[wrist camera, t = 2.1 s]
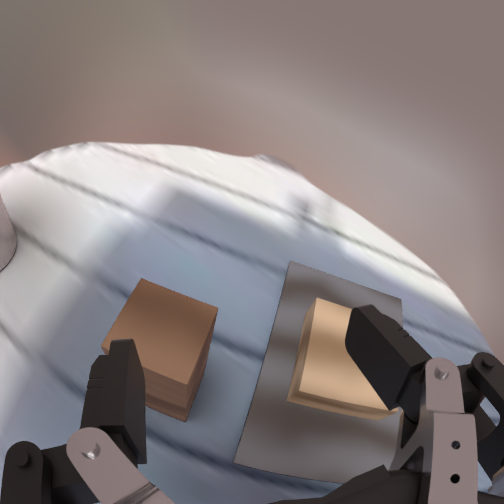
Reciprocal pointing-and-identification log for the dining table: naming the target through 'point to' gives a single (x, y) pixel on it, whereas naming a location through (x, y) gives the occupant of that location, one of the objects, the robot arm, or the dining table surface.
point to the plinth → (318, 387)
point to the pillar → (167, 344)
